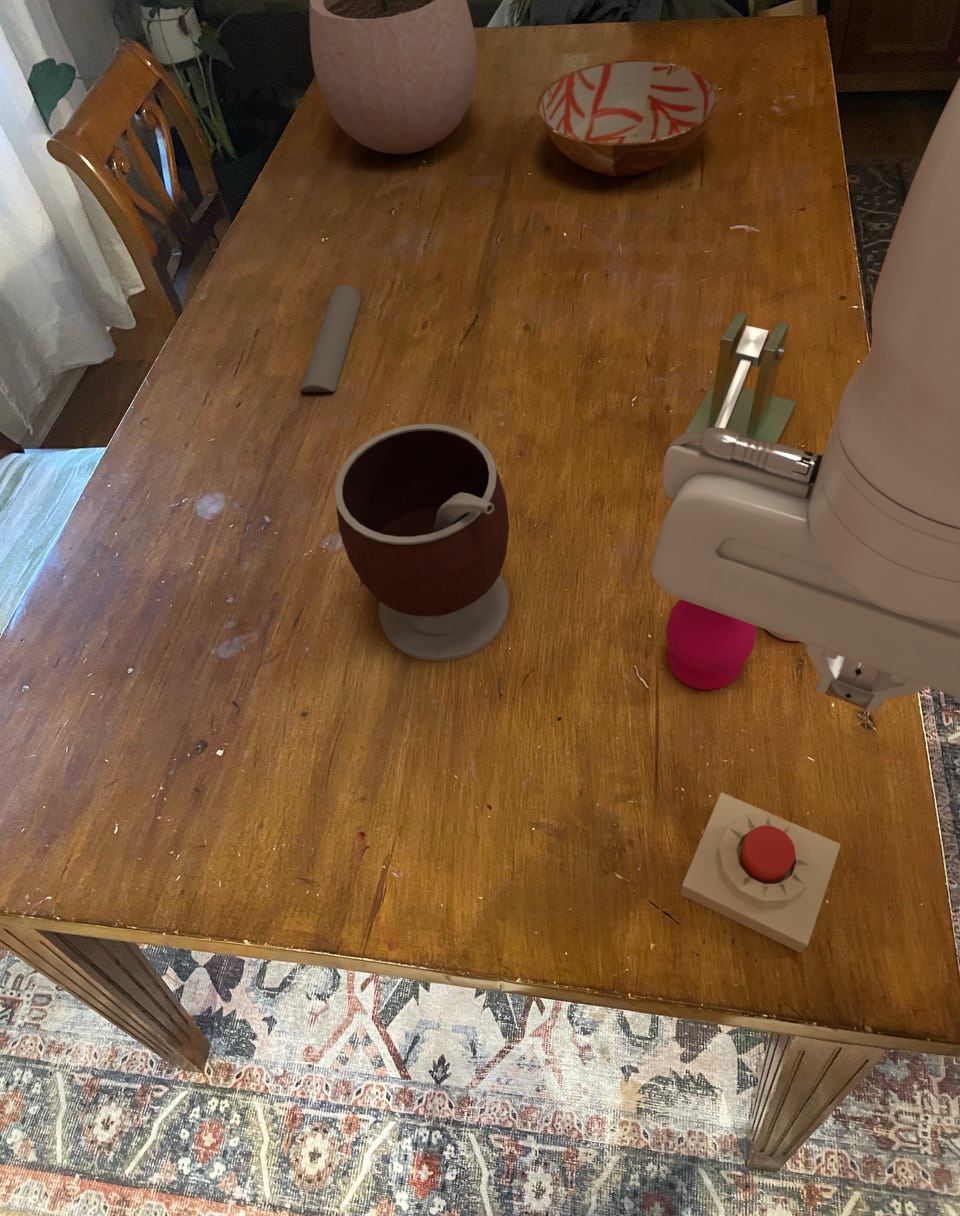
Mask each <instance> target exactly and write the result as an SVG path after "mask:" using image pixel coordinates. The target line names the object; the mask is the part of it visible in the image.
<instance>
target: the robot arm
mask: <svg viewBox="0 0 960 1216" xmlns="http://www.w3.org/2000/svg"><path fill="white" fill-rule="evenodd" d="M928 141H929V142H928V143H927V145H926V149H925V150H924V153H923V156H922V158H921V160H920V163H919V165H918V167H917V169H916V172H915V175H914V177H913V180H912V183H911V185H910V187H909V190H908V193H907V195H906V198H905V200H904V204H903V205H902V209H901V211H900V214H899V217H898V220H897V222H896V225H895V228H894V231H893V234H892V236H891V239H890V242H889V246H888V248H887V251H886V254H885V257H884V261H883V264H882V266H881V269H880V273H879V275H878V279H877V282H876V285H875V289H874V293H873V298H872V305H871V334H872V335H871V336H872V337H871V343H870V348H869V351H868V352H867V354H866V356H865V358H864V359H863V361H862V362H861V363H860V364H859V366H858V367H857V368H856V370H855V371H854V372H853V374H852V375H851V377H850V379H849V380H848V382H847V383H846V385H845V388H844V390H843V391H842V395H841V397H840V400H839V403H838V405H837V410H836V413H835V416H834V419H833V423H832V426H831V429H830V431H829V435H828V438H827V442H826V445H825V448H824V451H823V453H822V454H819V453H815V452H812V451H808V450H804V449H801V448H797V447H794V446H789V445H787V444H783V443H779V444H777V443H774V444H773V443H772V442H766V443H765V442H764V441H758V440H755V439H752V440H751V438H748V437H744V436H741V434H740V433H738V432H735V431H732V430H729V429H725V428H718V427H708V428H707V429H706V430H705V432H704V433H686V434H684V433H683V434H681V435H678V436H676V437H675V438H673V439H672V440H671V441H669V443H668V444H667V446H666V448H665V450H664V453H663V454H664V455H663V463H662V471H661V484H662V488H663V491H664V493H665V494H666V496H667V497H668V498H669V500H670V501H671V502H672V503H671V505H670V507H669V508H668V511H667V513H666V515H665V517H664V520H663V522H662V524H661V527H660V530H659V532H658V536H657V539H656V543H655V545H654V550H653V553H652V557H651V563H650V575H651V577H652V578H653V580H654V581H655V583H656V584H657V585H658V587H659V588H660V589H661V590H662V591H663V593H665V594H667V595H669V596H671V597H673V598H676V599H678V600H679V599H682V600H685V601H687V602H690V603H693V604H696V605H699V606H702V607H704V608H707V609H710V610H713V611H716V612H718V613H721V614H724V615H727V616H730V617H732V618H735V619H738V620H741V621H744V622H746V623H749V624H752V625H755V626H756V627H757V628H760V629H763V630H765V631H767V630H769V631H772V632H775V633H777V634H780V635H783V636H786V637H789V638H791V639H794V640H797V641H796V642H799V643H802V644H805V645H806V646H805V649H804V650H805V653H806V654H807V656H808V657H809V659H810V661H811V662H812V665H813V667H814V668H815V669H816V671H817V673H818V674H819V679H818V680H817V684H816V686H815V689H814V691H815V692H816V693H820V694H822V695H826V696H829V697H832V698H835V699H838V700H840V701H843V702H845V703H847V704H850V705H853V706H855V707H857V708H860V709H863V710H865V711H867V712H870V713H873V714H877V713H879V710H880V709H881V707H882V705H883V704H884V702H885V700H891V699H896V698H900V697H904V696H909V695H914V694H917V693H922V692H923V690H924V688H925V687H926V688H929V689H932V690H935V691H938V692H939V693H940V692H941V693H943V694H945V695H949V696H952V697H955V698H957V699H960V77H959V78H958V80H957V82H956V84H955V86H954V88H953V90H952V92H951V94H950V96H949V98H948V100H947V102H946V104H945V106H944V109H943V111H942V113H941V115H940V116H939V119H938V121H937V123H936V126H935V128H934V130H933V132H932V134H931V137H930V139H929V140H928Z"/></svg>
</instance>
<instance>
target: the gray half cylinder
mask: <svg viewBox="0 0 960 1216" xmlns="http://www.w3.org/2000/svg"><path fill="white" fill-rule="evenodd" d="M361 303H362V296H361V294H360V292H359V291H358V290H357V289H356V288H355V287H353V286H350V285H338V286H337V287H335V288H334V289H333V290H332V292H331V294H330V298H329V300H328V303H327V307H326V310H325V313H324V315H323V319H322V322H321V325H320V328H319V331H318V334H317V337H316V340H315V343H314V346H313V350H312V353H311V356H310V358H309V362H308V365H307V368H306V371H305V374H304V378H303V380H302V384H301V387H300V390H299V392H301V393H330V392H331V393H332V392H335V391H336V389H337V386H338V382H339V379H340V375H341V372H342V369H343V364H344V361H345V357H346V356H347V355H346V354H347V351H348V348H349V344H350V342H351V341H350V340H351V338H352V333H353V330H354V328H355V327H354V326H355V324H356V320H357V317H358V313H359V309H360V306H361Z"/></svg>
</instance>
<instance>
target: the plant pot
mask: <svg viewBox="0 0 960 1216" xmlns="http://www.w3.org/2000/svg"><path fill="white" fill-rule="evenodd" d="M475 35H476V34H475V29H474V25H473V21H472V16H471V13H470V8H469V5H468V1H467V0H309V42H310V53H311V60H312V67H313V71H314V75H315V78H316V82H317V85H318V87H319V90H320V92H321V94H322V97H323V99H324V102H325V104H326V106H327V108H328V110H329V111H330V113H331V116H332V118H334V120H335V121H336V123H337V124H338V126H339V127H340V128H341V129H342V130H343V131H344V132H345V133H346V134H347V135H348V136H349V137H351V139H353V140H355V142H357V143H359V144H360V145H361V146H363V147H366V148H368V149H371V150H373V151H376V152H379V153H383V154H388V155H389V154H390V155H407V154H414V153H419V152H422V151H425V150H427V149H429V148H432V147H434V146H435V145H437V144H439V143H440V142H442V141H443V140H445V139H446V138H447V137H448V136H449V135H450V134H451V133H452V132H453V131H454V130H455V129H456V128H457V127H458V125H460V123H461V121H462V120H463V118H464V116H465V114H466V112H467V110H468V108H469V105H470V103H471V100H472V97H473V94H474V90H475V83H476V77H477V45H476V36H475Z"/></svg>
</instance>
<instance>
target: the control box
mask: <svg viewBox="0 0 960 1216" xmlns="http://www.w3.org/2000/svg"><path fill="white" fill-rule="evenodd" d="M759 826H772V827H776V828H778V829H780V830H782V831H783V832H784V833H786V834H787V835H788V836H789V838H790V839H791V841H792V842H793V845H794V848H795V859H794V862H793V864H792V865H791V867H790V869H789V870H788V872H787V874H786V875H785V876H784V877H782V878H781V879H779V880H776V881H763V880H760V879H757V878H755V877H754V876H752V875H751V874H750V873H749V872H748V871H747V870H746V869H745V867H744V865H743V863H742V860H741V848H742V845H743V843H744V841H745V838H746V836H747V835H748V833H749V832H750V831H751V830H753V829H754V828H756V827H759ZM840 848H841V843H840V842H837V841H835V840H833V839H831V838H828V837H825V836H824V835H821V834H819V833H817V832H814V831H812V830H810V829H807V828H805V827H802V826H801V825H798V824H796V823H794V822H791V821H788V820H786V819H784V818H782V817H780V816H777V815H775V814H772V813H770V812H768V811H766V810H764V809H761V808H759V807H756V806H754V805H752V804H749V803H747V802H745V801H743V800H741V799H738V798H736V797H733V796H732V795H729V794H728V793H727V794H726V793H724V792H720V793H719V795H718V798H717V800H716V802H715V805H714V807H713V810H712V812H711V815H710V817H709V819H708V822H707V823H706V826H705V829H704V831H703V834H702V835H701V838H700V841H699V843H698V846H697V847H696V850H695V852H694V855H693V858H692V860H691V862H690V865H689V867H688V869H687V871H686V874H685V877H684V879H683V882H682V884H681V887H680V891H679V895H680V896H682V897H684V898H686V899H689V900H691V901H693V902H695V903H697V904H698V905H701V906H703V907H705V908H707V909H709V910H710V911H713V912H716V913H717V914H720V915H721V916H723V917H726V919H730V920H732V921H734V922H736V923H737V924H740V925H742V926H744V927H745V928H747V929H750V930H752V931H754V932H756V933H758V934H760V935H762V936H765V937H766V938H769V939H771V940H773V941H774V942H777V943H779V944H781V945H783V946H785V947H786V948H788V949H791V950H793V951H795V952H797V953H800V954H802V953H803V952H804V951H805V950H806V948H807V947H808V946H809V944H810V941H811V938H812V935H813V931H814V928H815V925H816V922H817V919H818V916H819V913H820V910H821V907H822V904H823V900H824V897H825V894H826V891H827V888H828V885H829V882H830V880H831V876H832V873H833V870H834V867H835V865H836V861H837V857H838V854H839V851H840Z"/></svg>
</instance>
